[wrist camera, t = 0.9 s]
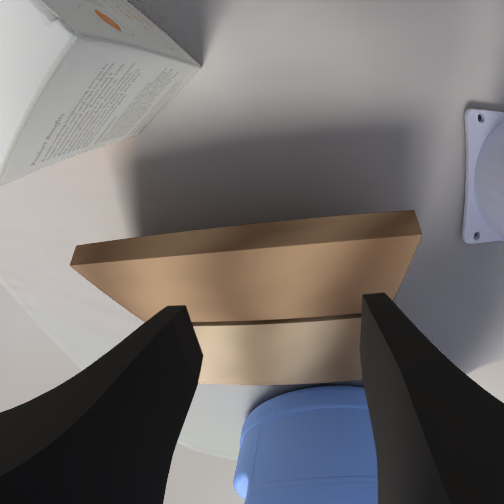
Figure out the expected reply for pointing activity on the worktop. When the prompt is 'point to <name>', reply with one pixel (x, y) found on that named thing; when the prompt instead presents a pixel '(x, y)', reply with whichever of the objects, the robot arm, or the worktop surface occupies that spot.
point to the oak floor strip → (280, 350)
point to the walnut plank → (257, 267)
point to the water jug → (309, 449)
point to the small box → (79, 78)
